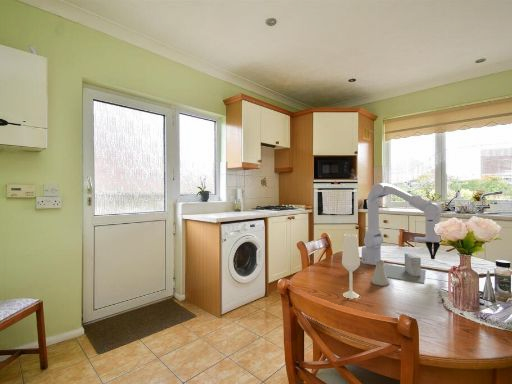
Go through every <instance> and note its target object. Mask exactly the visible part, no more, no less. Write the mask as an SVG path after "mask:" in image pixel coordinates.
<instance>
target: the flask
mask: <svg viewBox="0 0 512 384" xmlns="http://www.w3.org/2000/svg"><path fill="white" fill-rule="evenodd" d="M375 261H376V265H375V269H374V272H373V274H372V277H371V279H370V282H371V284H373V285H376V286H381V287H383V286H384V287H385V286H388V285H390V282H389V281H390V280H389V278H387V276H386V273H385V271H384V262H385V260H382V259H381V260H375Z"/></svg>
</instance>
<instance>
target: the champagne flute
mask: <svg viewBox="0 0 512 384" xmlns="http://www.w3.org/2000/svg"><path fill="white" fill-rule="evenodd" d="M358 239H359V238H358V234H354V233H344V235H343V244H342V245H343V246H342V255H341V256H342V257H341V264H342V266H343V268H345V269H346V270H347V271H348V272H349V273H348V276H349V279H348V280H349V286H348V287H349V289H348V291H346V292H343V293H342V294H343V296H344V297H346V298H345V299H347V298H351V299H353V298H358V297H359V296H360V294H358V293H357V292H355V291H354V290H353V287H354V286H353V283H354V282H353V281H354V280H353V272H354V271H356V270H357V269H359V267H360V265H361V259H360V251H359V250H360V249H359V240H358ZM343 296H342V297H343ZM344 297H343V298H344ZM351 299H350V300H351Z"/></svg>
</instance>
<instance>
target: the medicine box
mask: <svg viewBox="0 0 512 384" xmlns="http://www.w3.org/2000/svg"><path fill="white" fill-rule="evenodd" d="M421 259H422V258H421V257H420V256H418V255H417V254H415V253H410V252H409V253H404V267H405V271H406V272H407V273H409V274H410V275H411V276H421V268H422V267H421V266H422V265H421V264H422V263H421Z"/></svg>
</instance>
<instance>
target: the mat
mask: <svg viewBox="0 0 512 384" xmlns="http://www.w3.org/2000/svg"><path fill="white" fill-rule="evenodd" d="M383 267H384V271H385V273H386V276H387V278H388V279H394V280H399V281H405V282H410V283H411V282H412V283H418V284H423V285H424V284H425V278H426V272H427V271H426V269H421V276H411V275H410V274H409V273H407V272H406V271H405V266H401V265H394V264H387V263H386V264H384V265H383Z"/></svg>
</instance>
